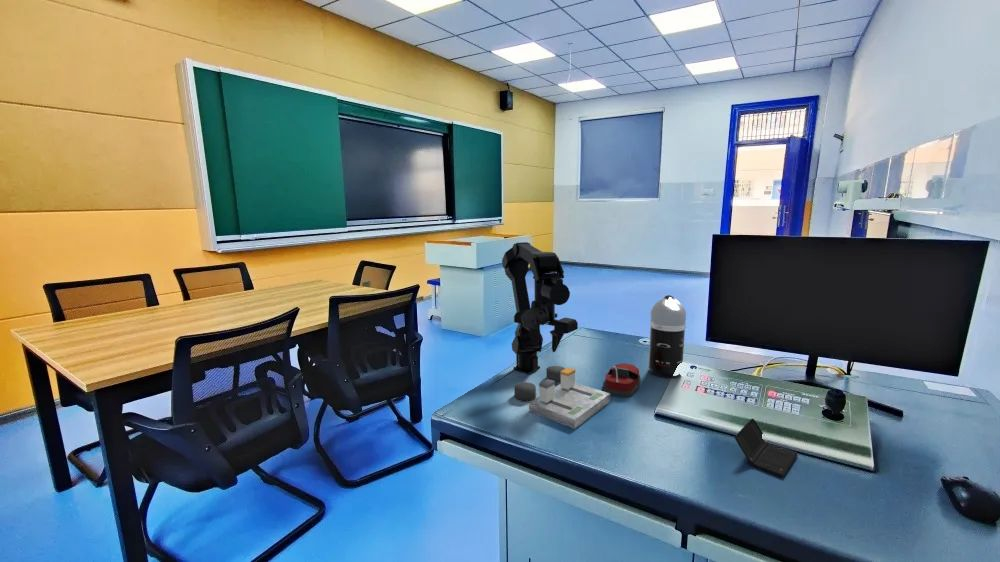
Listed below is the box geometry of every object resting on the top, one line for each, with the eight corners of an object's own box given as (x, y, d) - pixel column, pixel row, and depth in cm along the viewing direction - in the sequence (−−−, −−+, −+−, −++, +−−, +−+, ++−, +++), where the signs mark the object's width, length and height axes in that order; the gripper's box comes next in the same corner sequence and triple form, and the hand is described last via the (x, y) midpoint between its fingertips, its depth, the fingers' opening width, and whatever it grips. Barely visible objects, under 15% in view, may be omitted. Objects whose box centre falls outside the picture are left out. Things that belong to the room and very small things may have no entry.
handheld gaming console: (796, 475, 82) (763, 425, 85) (760, 485, 86) (729, 438, 89) (800, 454, 91) (770, 410, 94) (767, 465, 95) (739, 422, 98)
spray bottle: (685, 370, 136) (690, 293, 131) (679, 381, 128) (684, 300, 123) (652, 364, 142) (655, 290, 137) (644, 374, 133) (647, 297, 128)
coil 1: (510, 397, 120) (510, 387, 120) (523, 390, 125) (523, 380, 124) (527, 403, 116) (526, 393, 116) (540, 395, 121) (540, 386, 120)
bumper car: (644, 377, 132) (646, 346, 130) (631, 405, 114) (633, 370, 113) (612, 372, 136) (613, 342, 134) (595, 398, 119) (596, 364, 117)
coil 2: (542, 379, 131) (542, 370, 131) (553, 373, 136) (553, 364, 135) (558, 384, 127) (558, 375, 127) (569, 378, 132) (569, 369, 131)
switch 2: (560, 387, 119) (560, 371, 118) (567, 383, 122) (567, 367, 121) (567, 389, 118) (568, 373, 117) (575, 385, 120) (575, 369, 119)
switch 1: (539, 400, 112) (539, 383, 111) (547, 395, 115) (547, 378, 114) (546, 403, 110) (546, 385, 109) (554, 398, 113) (555, 381, 112)
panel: (528, 411, 112) (528, 402, 112) (566, 388, 125) (566, 379, 125) (574, 429, 103) (574, 419, 102) (609, 402, 116) (610, 393, 115)
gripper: (501, 297, 120) (502, 350, 123) (556, 307, 108) (556, 365, 111) (525, 291, 129) (525, 340, 132) (579, 299, 116) (578, 353, 119)
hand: (544, 349), depth 123 cm, fingers open, 6 cm apart
